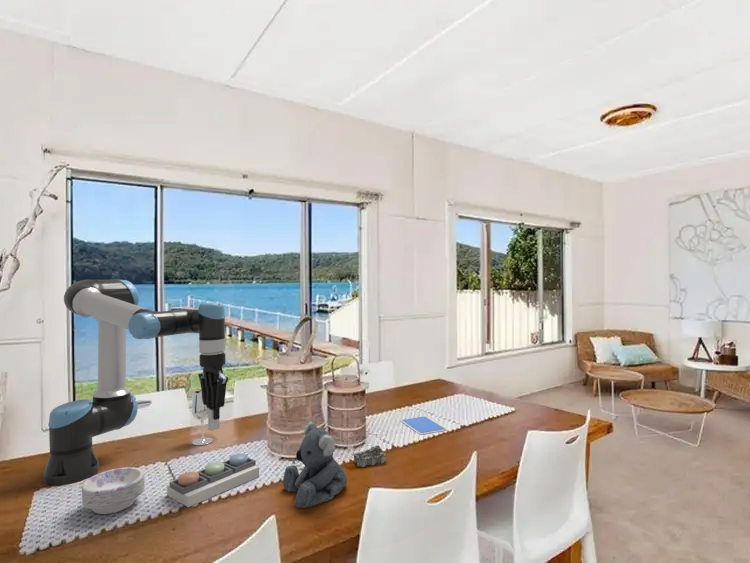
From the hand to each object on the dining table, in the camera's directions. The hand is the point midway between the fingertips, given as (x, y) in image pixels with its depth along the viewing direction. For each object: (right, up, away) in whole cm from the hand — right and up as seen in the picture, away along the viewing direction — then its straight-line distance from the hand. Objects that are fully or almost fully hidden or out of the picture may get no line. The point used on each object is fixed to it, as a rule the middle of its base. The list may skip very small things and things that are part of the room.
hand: (214, 428), depth 135 cm
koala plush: (+33, -17, -5) cm, 38 cm away
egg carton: (+48, -17, +16) cm, 53 cm away
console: (0, -17, 0) cm, 17 cm away
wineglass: (-18, -18, +38) cm, 46 cm away
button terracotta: (-5, -13, -7) cm, 16 cm away
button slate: (+5, -13, +7) cm, 16 cm away
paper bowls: (-24, -18, -11) cm, 32 cm away
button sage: (0, -13, 0) cm, 13 cm away
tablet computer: (+70, -17, +52) cm, 89 cm away
